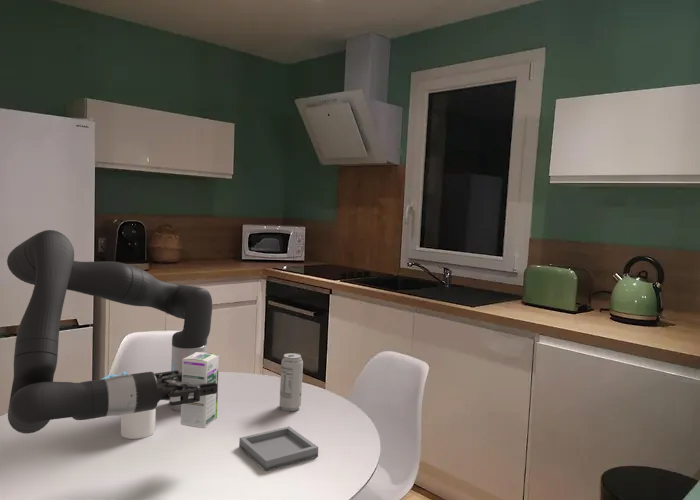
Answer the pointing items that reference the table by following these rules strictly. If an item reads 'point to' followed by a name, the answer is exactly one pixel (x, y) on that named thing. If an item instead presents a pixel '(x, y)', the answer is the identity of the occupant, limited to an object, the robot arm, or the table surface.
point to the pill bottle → (138, 424)
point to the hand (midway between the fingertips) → (209, 381)
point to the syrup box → (199, 372)
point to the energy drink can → (291, 382)
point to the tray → (278, 448)
